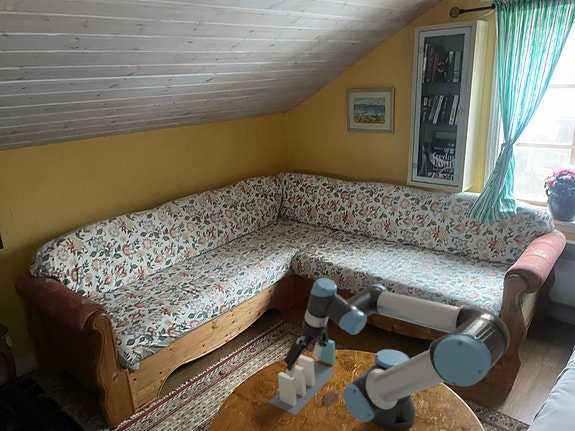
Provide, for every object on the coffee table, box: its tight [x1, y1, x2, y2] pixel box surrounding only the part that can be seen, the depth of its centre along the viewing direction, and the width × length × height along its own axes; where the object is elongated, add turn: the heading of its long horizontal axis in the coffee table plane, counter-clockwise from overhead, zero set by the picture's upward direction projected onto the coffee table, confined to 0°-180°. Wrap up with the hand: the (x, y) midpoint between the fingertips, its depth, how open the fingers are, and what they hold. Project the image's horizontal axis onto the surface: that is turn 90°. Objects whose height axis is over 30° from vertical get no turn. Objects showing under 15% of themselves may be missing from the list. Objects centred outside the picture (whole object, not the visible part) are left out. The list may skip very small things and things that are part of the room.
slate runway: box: [268, 361, 338, 416], centre depth 172 cm, size 12×28×1 cm, turn 144°
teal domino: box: [319, 338, 336, 366], centre depth 183 cm, size 6×2×11 cm, turn 54°
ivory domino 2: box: [293, 364, 306, 396], centre depth 167 cm, size 6×2×11 cm, turn 54°
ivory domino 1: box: [277, 371, 297, 406], centre depth 163 cm, size 6×2×11 cm, turn 54°
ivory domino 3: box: [297, 354, 315, 387], centre depth 172 cm, size 6×2×11 cm, turn 54°
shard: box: [321, 388, 343, 408], centre depth 164 cm, size 11×8×2 cm
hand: (302, 366), depth 161 cm, fingers open, 13 cm apart
